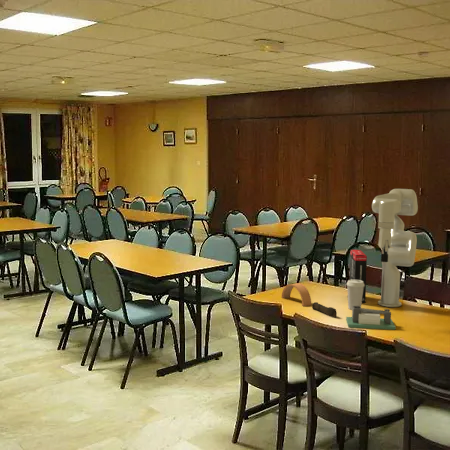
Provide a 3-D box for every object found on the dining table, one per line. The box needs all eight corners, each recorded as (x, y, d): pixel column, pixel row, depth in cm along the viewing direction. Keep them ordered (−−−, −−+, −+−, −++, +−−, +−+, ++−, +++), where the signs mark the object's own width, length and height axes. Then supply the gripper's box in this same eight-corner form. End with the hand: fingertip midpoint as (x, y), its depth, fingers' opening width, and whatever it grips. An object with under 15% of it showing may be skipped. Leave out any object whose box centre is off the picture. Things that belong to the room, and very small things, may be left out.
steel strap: (355, 309, 298) (356, 305, 297) (388, 313, 296) (388, 308, 296) (356, 311, 295) (356, 306, 295) (389, 314, 293) (389, 310, 293)
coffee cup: (363, 311, 319) (365, 283, 317) (345, 310, 321) (346, 282, 319) (363, 306, 329) (364, 279, 327) (345, 305, 331) (346, 278, 329)
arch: (289, 297, 348) (290, 279, 347) (311, 305, 331) (311, 287, 330) (281, 298, 345) (281, 281, 344) (302, 306, 328) (303, 288, 327)
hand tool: (311, 309, 323) (311, 301, 322) (317, 308, 324) (318, 300, 324) (331, 319, 306) (331, 310, 305) (338, 318, 307) (338, 309, 307)
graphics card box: (366, 303, 336) (368, 254, 332) (353, 303, 336) (355, 254, 332) (359, 295, 353) (361, 249, 349) (347, 295, 353) (349, 249, 349)
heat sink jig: (346, 319, 304) (346, 303, 303) (391, 321, 301) (392, 305, 300) (348, 327, 291) (349, 310, 290) (395, 329, 289) (396, 312, 288)
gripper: (376, 223, 309) (374, 258, 312) (380, 227, 295) (378, 264, 297) (391, 223, 308) (389, 259, 311) (396, 227, 294) (394, 264, 296)
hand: (384, 261), depth 304 cm, fingers closed
